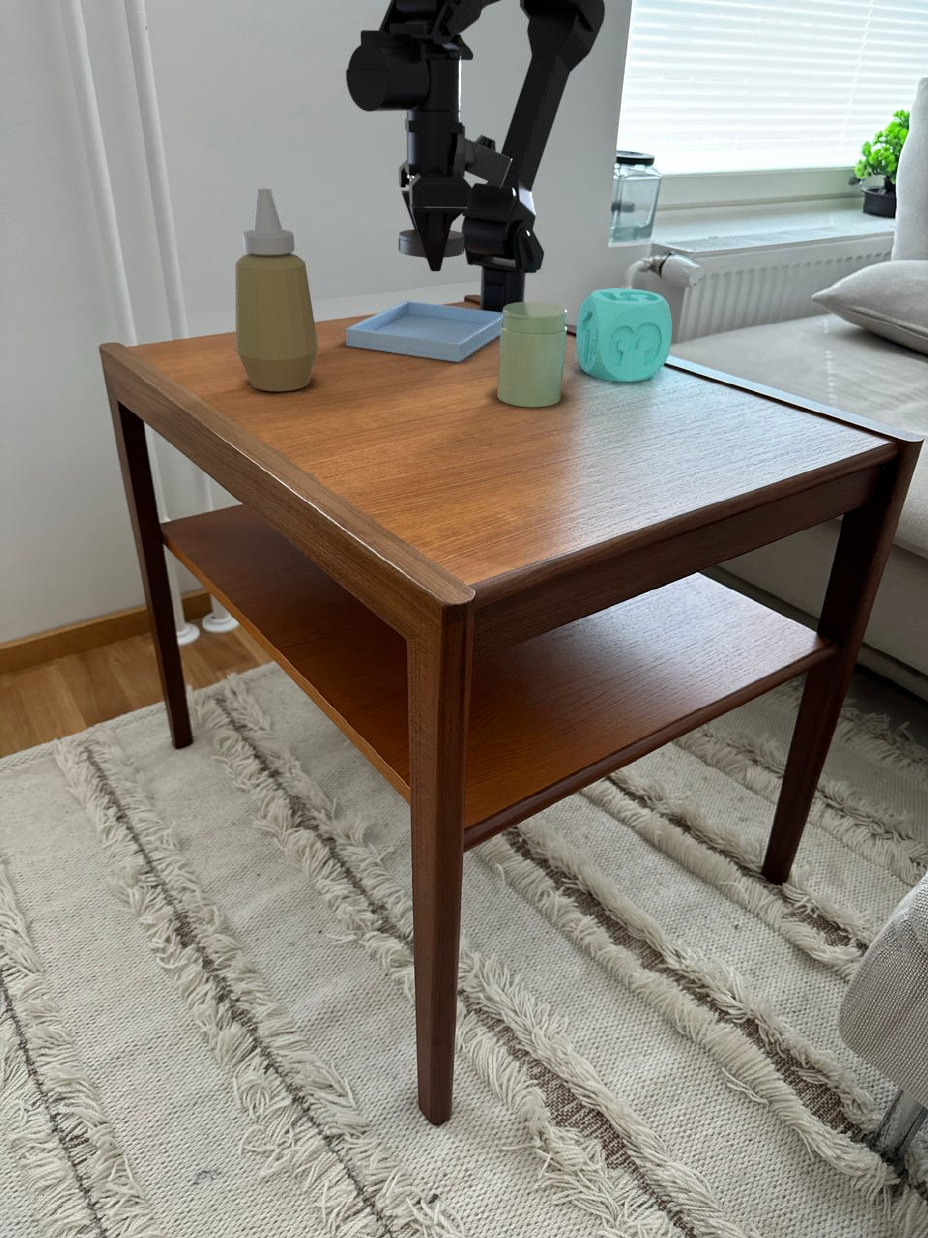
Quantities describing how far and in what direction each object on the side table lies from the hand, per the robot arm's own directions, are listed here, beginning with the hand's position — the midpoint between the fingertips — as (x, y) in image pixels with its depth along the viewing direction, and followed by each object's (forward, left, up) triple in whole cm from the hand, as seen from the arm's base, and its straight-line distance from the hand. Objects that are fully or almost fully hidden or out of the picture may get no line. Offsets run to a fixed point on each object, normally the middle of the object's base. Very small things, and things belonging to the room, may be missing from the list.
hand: (432, 264), depth 104 cm
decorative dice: (+3, +24, -9) cm, 26 cm away
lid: (0, 0, +3) cm, 3 cm away
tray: (0, 0, -8) cm, 8 cm away
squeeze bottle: (+24, -6, -9) cm, 26 cm away
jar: (+16, +18, -8) cm, 25 cm away
